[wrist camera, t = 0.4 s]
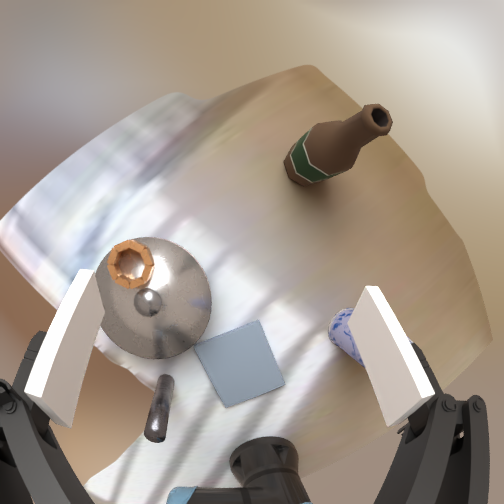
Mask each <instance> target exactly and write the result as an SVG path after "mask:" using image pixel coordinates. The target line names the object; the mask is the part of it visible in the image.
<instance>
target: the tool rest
mask: <svg viewBox="0 0 504 504" xmlns="http://www.w3.org/2000/svg"><path fill="white" fill-rule="evenodd" d="M194 349H195V351H196V353H197V355H198V357H199V359H200V361H201V363H202V365H203V367H204V369H205V370H206V372H207V374H208V376H209V378H210V380H211V382H212V384H213V386H214V387H215V389H216V391H217V393H218V395H219V396H220V398H221V400H222V402H223V404H224V405H225V407H226V408H227V407H229V406H232V405H235V404H238V403H241V402H243V401H246V400H249V399H251V398H254V397H257V396H259V395H262V394H264V393H267V392H269V391H271V390H274V389H276V388H279V387H281V386H283V385H285V383H284V380H283V378H282V375H281V373H280V371H279V368H278V366H277V363H276V361H275V358H274V356H273V353H272V351H271V349H270V346H269V344H268V341H267V339H266V336H265V334H264V331H263V329H262V326H261V324H260V321H259V320H256V321H254V322H251V323H249V324H246V325H244V326H241V327H239V328H236V329H234V330H231V331H229V332H226V333H224V334H221V335H219V336H216V337H213V338H211V339H208V340H205V341H203V342H200V343H197V344H195V345H194Z"/></svg>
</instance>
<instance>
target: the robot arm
mask: <svg viewBox="0 0 504 504" xmlns="http://www.w3.org/2000/svg"><path fill="white" fill-rule="evenodd" d="M104 314H105V311H104V307H103V304H102V300H101V296H100V293H99V289H98V285H97V281H96V277H95V273H94V270H84V269H80V270H79V272H78V274H77V276H76V277H75V279H74V281H73V283H72V285H71V286H70V288H69V290H68V292H67V294H66V296H65V298H64V300H63V301H62V303H61V305H60V307H59V309H58V311H57V313H56V315H55V317H54V320H53V322H52V324H51V326H50V328H49V330H48V332H43V331H39V332H38V333H37V334H36V335H35V336H34V337H33V338H32V339H31V341H30V344H29V346H28V348H27V351H26V353H25V355H24V359H23V360H22V362H21V364H20V367H19V369H18V372H17V374H16V377H15V380H14V382H13V385H12V387H11V386H10V384H9V383H8V382H6V381H5V380H3V379H0V504H33V501H32V498H33V500H34V502H35V504H94V502H93V501H92V499H91V498H90V496H89V495H88V493H87V492H86V490H85V489H84V487H83V486H82V485H81V483H80V481H79V480H78V478H77V476H76V475H75V473H74V471H73V470H72V468H71V466H70V464H69V463H68V461H67V459H66V457H65V455H64V453H63V451H62V450H61V448H60V446H59V444H58V442H57V440H56V438H55V436H54V434H53V431H52V429H51V427H50V426H49V420H50V419H51V420H52V421H53V422H54V423H56V424H58V425H61V426H64V427H68V428H72V423H73V418H74V414H75V410H76V405H77V401H78V397H79V393H80V389H81V385H82V382H83V378H84V375H85V371H86V368H87V364H88V361H89V358H90V355H91V352H92V348H93V345H94V342H95V339H96V336H97V333H98V331H99V328H100V325H101V322H102V319H103V316H104ZM347 324H348V326H349V328H350V331H351V333H352V336H353V338H354V340H355V343H356V345H357V348H358V350H359V353H360V355H361V358H362V360H363V363H364V365H365V368H366V370H367V373H368V376H369V378H370V381H371V383H372V386H373V389H374V392H375V394H376V397H377V400H378V402H379V405H380V408H381V411H382V414H383V416H384V419H385V422H386V425H387V427H391V426H394V425H397V424H400V423H402V422H403V421H404V420H405V419H407V418H408V420H409V422H408V423H407V424H406V425H405V426H403V427H402V428H401V429H399V430H398V432H397V433H398V434H399V433H401V432H402V431H403V430H404V433H403V434H402V439H401V442H400V444H399V447H398V450H397V453H396V455H395V457H394V460H393V462H392V465H391V467H390V470H389V472H388V474H387V477H386V479H385V481H384V483H383V486H382V488H381V490H380V492H379V494H378V496H377V498H376V500H375V502H374V504H487V503H488V492H489V469H490V468H489V467H490V465H489V464H490V463H489V462H490V456H489V433H488V420H487V411H486V405H485V402H484V400H483V399H482V398H481V397H480V396H478V395H473V396H472V397H470V398H469V399H468V400H467V401H456V400H455V399H454V397H452V396H451V395H449V394H444V393H443V392H442V390H441V388H440V386H439V384H438V382H437V380H436V377H435V375H434V373H433V371H432V369H431V367H429V364H428V362H427V361H426V358H425V356H424V354H423V352H422V350H421V349H420V348H419V347H418V346H417V345H416V344H415V343H410V342H409V340H408V338H407V336H406V335H405V333H404V331H403V329H402V327H401V325H400V324H399V322H398V320H397V318H396V317H395V315H394V313H393V311H392V310H391V308H390V306H389V304H388V303H387V301H386V299H385V298H384V296H383V294H382V293H381V291H380V289H379V288H378V286H365V288H364V290H363V293H362V295H361V297H360V299H359V301H358V303H357V305H356V307H355V309H354V311H353V313H352V315H351V317H350V319H349V321H348V322H347ZM463 431H464V436H463V437H462V438H460V433H461V432H463ZM230 466H231V471H232V473H233V475H234V476H235V477H236V479H237V480H238V482H239V483H240V484H241V486H242V487H243V488H201V487H198V486H195V487H175V488H173V489H172V490H171V491H170V493H169V496H168V499H167V502H166V504H313V503H311V501H310V499H309V497H308V495H307V492H306V490H305V488H304V486H303V484H302V482H301V480H300V478H299V475H298V453H297V451H296V449H295V447H294V445H293V444H292V443H291V442H290V441H288V440H286V439H284V438H280V437H261V438H256V439H253V440H250V441H248V442H246V443H244V444H242V445H240V446H239V447H238V448H237V449H235V451H234V452H233V453H232V455H231V457H230ZM31 497H32V498H31Z"/></svg>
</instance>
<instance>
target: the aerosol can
mask: <svg viewBox="0 0 504 504" xmlns="http://www.w3.org/2000/svg"><path fill="white" fill-rule="evenodd" d="M353 311H354V309H353V308H346V309H343V310H341V311H339V312H338V313H337V314H336V315H335V316H334V317H333V318H332V320H331V322H330V324H329V329H328V333H329V338H330V340H331V341H332V342H333V343H334V344H335V345H337V346H339V347H340V348H341V349H343V350H344V351H345V352H346V353H347V354H349V355H350V356H351V357H352V358H353V359H355V360H356V361H357V362H358V363H359V364H361V365H362V366H363V367H364V368H365V365H364V363H363V360H362V358H361V355H360V353H359V350H358V348H357V345H356V343H355V340H354V338H353V336H352V333H351V331H350V328H349V326H348V324H347V322H348V321H349V319H350V317H351V315H352V313H353ZM407 338H408V340H409V342H410V343H413V342H412V340H410V338H409V337H407Z"/></svg>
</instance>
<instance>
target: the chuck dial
mask: <svg viewBox="0 0 504 504" xmlns="http://www.w3.org/2000/svg"><path fill="white" fill-rule="evenodd" d="M95 277H96V281H97V285H98V289H99V293H100V296H101V300H102V304H103V307H104V311H105V314H104V316H103V319H102V322H101V325H100V326H101V327H102V329H103V330H104V332H105V333H106V335H107V336H108V337H109V338H110V339H111V340H112V341H113V342H114V343H115V344H116V345H118V346H119V347H121V348H122V349H123V350H125V351H127V352H129V353H131V354H134V355H136V356H139V357H143V358H150V359H163V358H169V357H172V356H176V355H178V354H180V353H182V352H184V351H186V350H187V349H189V348H190V347H191V346H193V345H194V344H195V343H196V342H197V341H198V340H199V338H200V337H201V335H202V334H203V333H204V331H205V329H206V327H207V324H208V321H209V318H210V313H211V303H212V302H211V291H210V286H209V282H208V279H207V276H206V274H205V272H204V270H203V268H202V267H201V265H200V264H199V262H198V261H197V260H196V259H195V257H194V256H193V255H192V254H191V253H189V252H188V251H187V250H186V249H184V248H183V247H182V246H180V245H178V244H176V243H174V242H172V241H169V240H166V239H162V238H156V237H143V238H136V239H131V240H127V241H124V242H122V243H120V244H118V245H115V246H114V248H112V250H111V251H110V252H109V253H108V254H107V255H106V256H105V257H104V259H103V260H102V261H101V263H100V265H99V267H98V268H97V271H96V273H95Z"/></svg>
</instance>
